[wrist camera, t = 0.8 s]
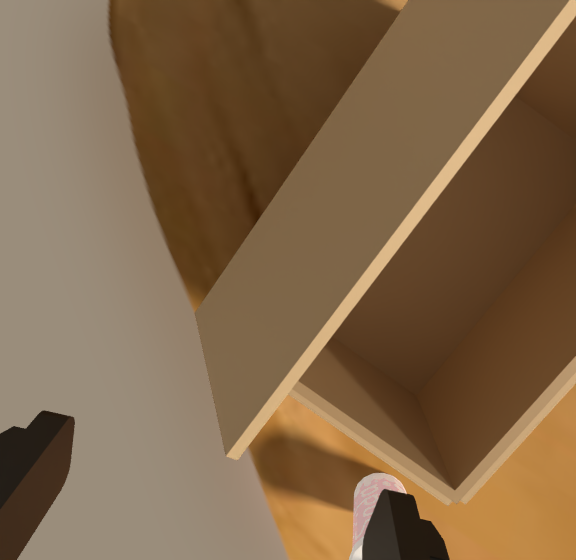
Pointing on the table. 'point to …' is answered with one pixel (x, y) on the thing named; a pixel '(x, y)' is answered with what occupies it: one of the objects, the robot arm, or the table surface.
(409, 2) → the carton flap
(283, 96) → the table surface
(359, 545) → the beverage cup
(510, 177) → the carton
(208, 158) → the table surface
